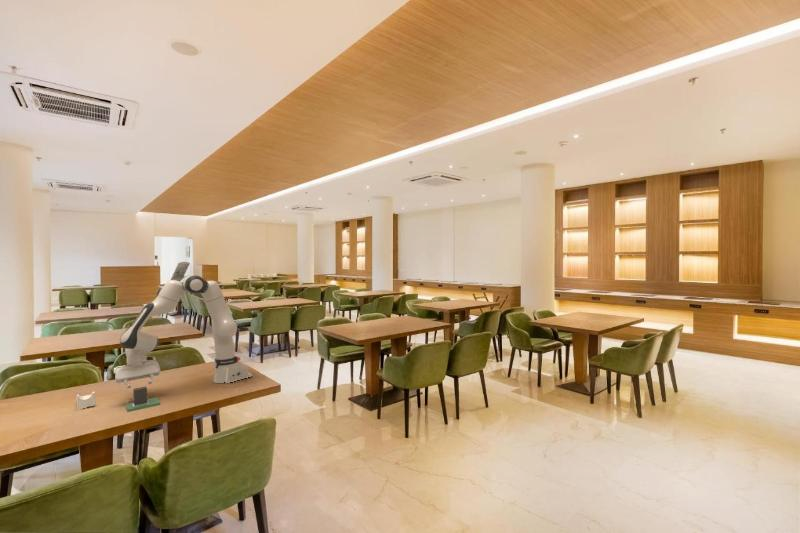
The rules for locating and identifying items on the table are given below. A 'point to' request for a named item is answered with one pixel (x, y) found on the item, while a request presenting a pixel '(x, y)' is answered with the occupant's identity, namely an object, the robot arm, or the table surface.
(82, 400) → the bracket
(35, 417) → the table surface
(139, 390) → the block
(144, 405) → the header board
